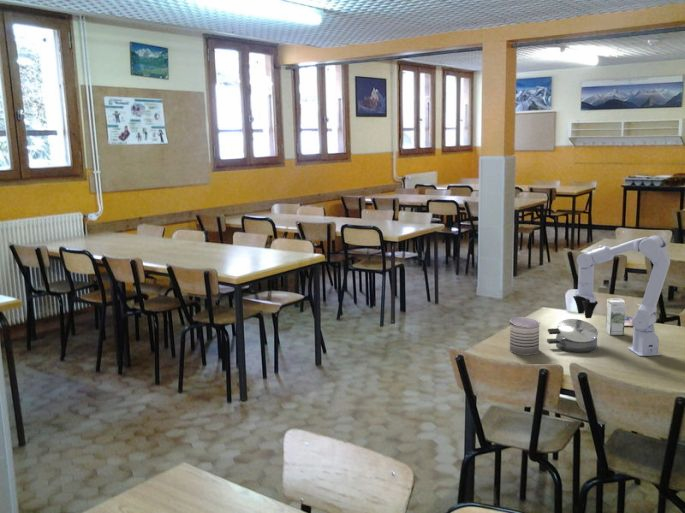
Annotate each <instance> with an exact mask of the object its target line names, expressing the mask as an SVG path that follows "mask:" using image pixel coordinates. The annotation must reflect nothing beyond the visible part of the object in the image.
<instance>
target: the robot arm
mask: <svg viewBox="0 0 685 513" xmlns="http://www.w3.org/2000/svg"><path fill="white" fill-rule="evenodd" d="M630 251H634V252H636V253H639V252H640V253H641V254H642V255H644V256H645V257H646V258H648V259H649V261H650V262H651V263H652V264H653V266H652V269H651V273H650V276H649V279H648V283H647V284H646V288H645V292H644V295H643V298H642V301H641V304H640V306H639V307H638V309H637V311H636V314H634V315H633V316H632V317H631V318H632V325H633V326H634V327H632V328H633V329H632V330H633V331H632V346H628V347H627V349H629V351H631V352H633V353H635V355H638V356H639V357H646V356H647V357H649V356H660V355H661V353H659V345H660V344H659V343H660V342H659V341H660V340H659V337H658V335H657V334H656V332H655V325H654V324H656V322H657V318H658V316H657V311H658V308H657V305H658V302H659V298H660V295H661V293H662V289H663V286H664V284H665V280H666V277H667V275H668V271H669V268H670V264H671V258H670V255H669V251H668V243H667V242H666V241H665V239H663V237H661V236H660V235H657V234H654V235H651V236H649V237H648V236H644V237H640V238H636V239H633V240H629V241H627V242H623V243H621V244H618V245H615V246H612V247H611V246H609V245H604V244H603V245H599V247H598V248H595V249H589V250H588V251H587V252H583V253H580V254H579V255H578V256H577V257H576V264H577V267H578V277H577V278H578V279H577V280H578V281H577V289H575V293H574V295H573V299H574V301H575V304H576V309H577V313H578V314H579V315H580V314H584V317H585V319H592V316H593V313H594V311H595V308H596V307H597V305H598V303H599V302H598V301H597V298H596V297H595V294H594V278H595V276H594V275H595V265H599V264H603V263H606V262H608V261H611V260H613V258H614V257H615V256H616V255H620V254H624V253H627V252H630Z"/></svg>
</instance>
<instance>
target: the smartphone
mask: <svg viewBox="0 0 685 513" xmlns="http://www.w3.org/2000/svg"><path fill="white" fill-rule="evenodd" d="M632 318H633V317H631V316H625V322H624V328H633V327H634V326H633V325H632Z"/></svg>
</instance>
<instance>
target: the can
mask: <svg viewBox="0 0 685 513" xmlns="http://www.w3.org/2000/svg"><path fill="white" fill-rule="evenodd" d="M508 322H509V324H510V326H509V333H510V334H509V336H510V337H509V351H510V352H511V351H512V352H511V353H513V352H514V353H513V354H515V353H517V354H516V355H520V354H523V355H522V356H531V355H530V354H534V355H536V354H538V352H540V351H539V350H540V325H541V322H540V321H538V320H536V319H535V318H531V317H525V316H516V317H510V319H509V320H508ZM535 353H536V354H535Z"/></svg>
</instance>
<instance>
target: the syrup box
mask: <svg viewBox="0 0 685 513" xmlns="http://www.w3.org/2000/svg"><path fill="white" fill-rule="evenodd" d="M625 315H626V301H625V300H624V299H623V298H607V300H606V315H605V316H606V317H605V318H606V319H605V320H606V321H605V332H606V333H607V334H608V335H609V336H624V335H625V327H624V322H625V317H626V316H625Z"/></svg>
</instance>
